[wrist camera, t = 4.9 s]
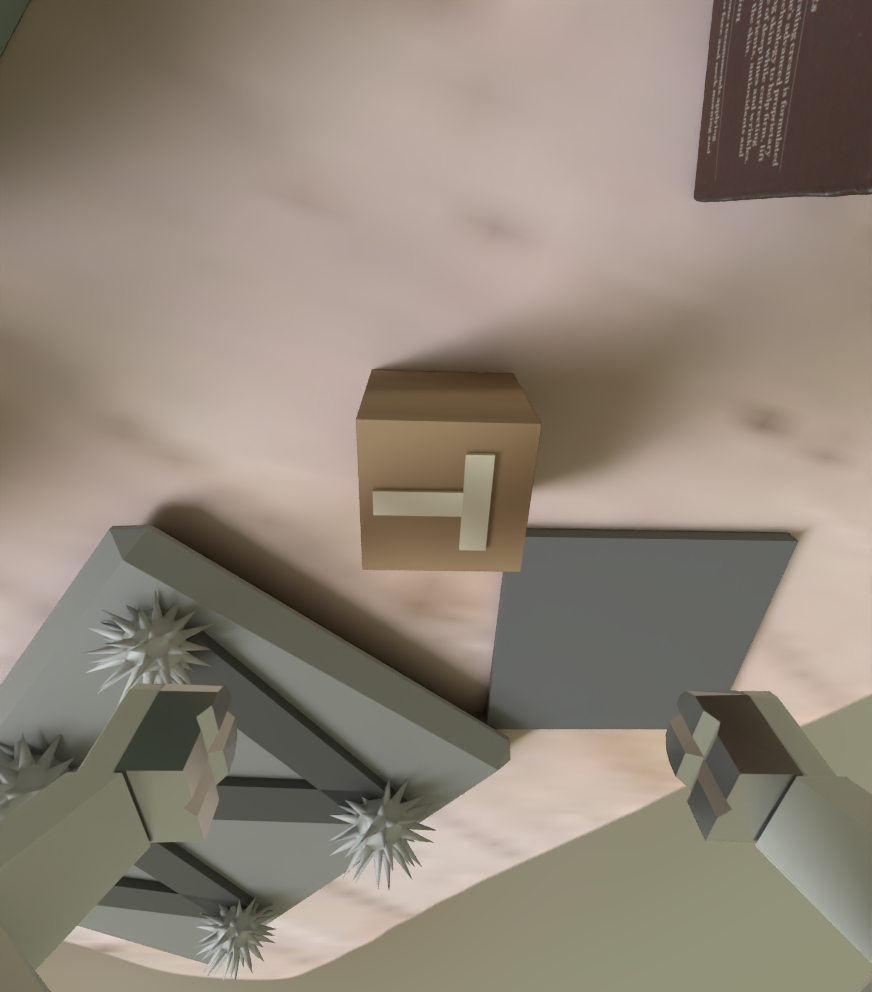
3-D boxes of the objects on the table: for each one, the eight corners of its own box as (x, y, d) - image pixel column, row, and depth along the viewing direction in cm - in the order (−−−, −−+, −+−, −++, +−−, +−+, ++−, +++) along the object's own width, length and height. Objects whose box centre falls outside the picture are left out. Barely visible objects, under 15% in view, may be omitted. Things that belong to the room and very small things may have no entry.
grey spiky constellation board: (226, 927, 38) (187, 1068, 32) (-92, 823, 31) (-224, 980, 24) (519, 725, 27) (547, 878, 21) (140, 493, 20) (11, 621, 14)
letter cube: (372, 368, 18) (355, 421, 14) (512, 373, 18) (542, 425, 14) (375, 493, 20) (362, 572, 16) (499, 495, 21) (520, 574, 16)
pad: (508, 528, 21) (510, 536, 21) (789, 533, 22) (798, 541, 21) (484, 718, 27) (486, 729, 27) (706, 719, 28) (711, 729, 27)
